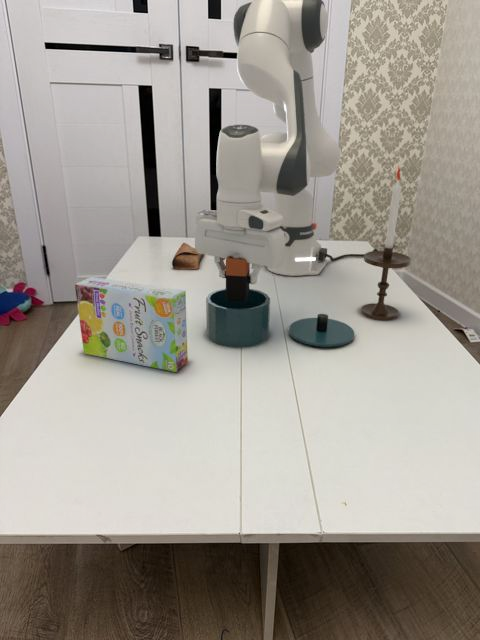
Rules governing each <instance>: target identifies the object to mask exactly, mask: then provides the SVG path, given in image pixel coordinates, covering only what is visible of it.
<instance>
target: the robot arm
mask: <svg viewBox="0 0 480 640" xmlns="http://www.w3.org/2000/svg"><path fill="white" fill-rule="evenodd" d="M328 25H329V19H328V13H327V9H326V6H325V2H324V1H323V0H253V1H250V2H248V3H244V4H242V5H241V6H239V7H238V9H237V11H235V14H234V16H233V37H234V41H235V44H236V47H237V54H236V71H237V74H238V77H239V79H240V81H241V82H242V84H243V85H244V86H245V87H246V89H247V90H248V91H250V92H251V93H252V94H254V95H256V96H257V97H260V98H262V99H265V100H266V101H269V102H271V103H272V108H273V112H274V114H275V116H276V117H277V118H278V120H280V121H282V122H283V123H284V124H285V125H286V132H280V131H279V132H272V133H267V134H264V135H262V137H261V133H260V130H259V129H258V128H257V127H256V126H253V125H249V124H233V125H227V126H225V127H223V128H222V129H220V131H219V134H218V135H219V136H218V140H217V150H216V163H215V164H216V168H215V169H216V170H215V171H216V174H215V175H216V179H217V184H218V189H217V193H216V210H212V209H208V208H202V209H201V210H200V211H198V213H197V214H196V217H195V220H196V226H195V234H194V235H195V236H194V248H195V249H196V251H197V252H198V253H200V254H204V256H205V255H206V256H211V257H214V264H215V265H216V268H217V269H218V273H219V274H218V276H219V278H222V279H226V262H225V261H226V258H227V257H228V256H233V253H234V254H235V255H239V254H240V258H243V259H246V260H247V263H250V265H251V269H252V272H251V273H250V275H247V283H249V285H255V284H257V283H258V275H259V274H260V272H261V270H262V269H263V267H266V268H267V270H268V271H270V272H271V273H274V274H277V275H281V276H289V277H290V276H292V277H293V276H294V277H299V276H316V275H317V276H318V275H319V274H320V273H321V272H322V270H323V269H324V268H325V266H327V264H328V259H327V258H329V259H330V261H332V262H335V261H338V260H340V259H344V258H349V257H352V258H353V257H357V258H358V257H360V258H361V257H362V258H364V255H365V254H366V253H348V254H347V253H346V254H342V255H339V256H335V257H333V256H332V255H331V254H328V248H326V247H322V245H321V244H320V243H319V241H318V240H317V239H316V238H315V236H314V235H315V234H314V233H315V232H314V231H315V230H317V226H318V225H317V222H313V211H314V210H313V207H314V199H313V197H312V196H313V195H312V194H311V192H310V191H308V190H307V189H306V187H308V184H309V182H310V178H322V177H329V176H332V175H333V174H334V173H335V172H336V170H337V169H338V167H339V165H340V161H341V148H340V146H339V144H338V142H337V140H336V139H334V138H333V137H332V136H331V135H330V134H329V133H328V131H327V129H325V127H324V125H323V123H322V121H321V119H320V117H319V114H318V111H317V105H316V96H315V80H314V64H313V57H312V53H314V52H315V50H316V49H317V48H319V47H320V46H321V45H322V44H323V42H324V41H325V38H326V34H327V31H328V27H329V26H328ZM261 193H270V194H271V193H273V195H274V210H272V209H271V208H269V207H267V206H265V205H263V204H262V195H261ZM372 251H379V250H378V249H377V248H374V249H373V250H372Z"/></svg>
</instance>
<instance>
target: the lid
mask: <svg viewBox="0 0 480 640" xmlns="http://www.w3.org/2000/svg"><path fill="white" fill-rule="evenodd" d="M288 333H289V335H290V336H291V338H292V339H294V340H295V341H297V342H300V343H301V344H305V345H309V346H314V347H325V348H331V347H340V346H344V345H346V344H349V343H351V342H352V341H353V340H354V337H355V330H354V329H353V328H352V327H351V326H350V325H349V324H347V323H346V322H344V321H340V320H337V319H333V318H329V315H328V314H326V313H319V314H317V316H316V317H307V318H302V319H298V320H295V321H294V322H291V324H290V325H289V326H288Z"/></svg>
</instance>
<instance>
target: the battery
mask: <svg viewBox="0 0 480 640" xmlns="http://www.w3.org/2000/svg"><path fill="white" fill-rule="evenodd" d="M225 266H226V278H225V288H226V300H228V301H242V302H243V301H246V299H247V296H248V293H249V289H250V284H249V283H247V275H250V274H251V273H250V272H251V270H250V269H251V264H250V263H247V260H246V259H243V258H240V254H239V255H235V254H234V253H233V256H228V257H227V258H226V259H225Z"/></svg>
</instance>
